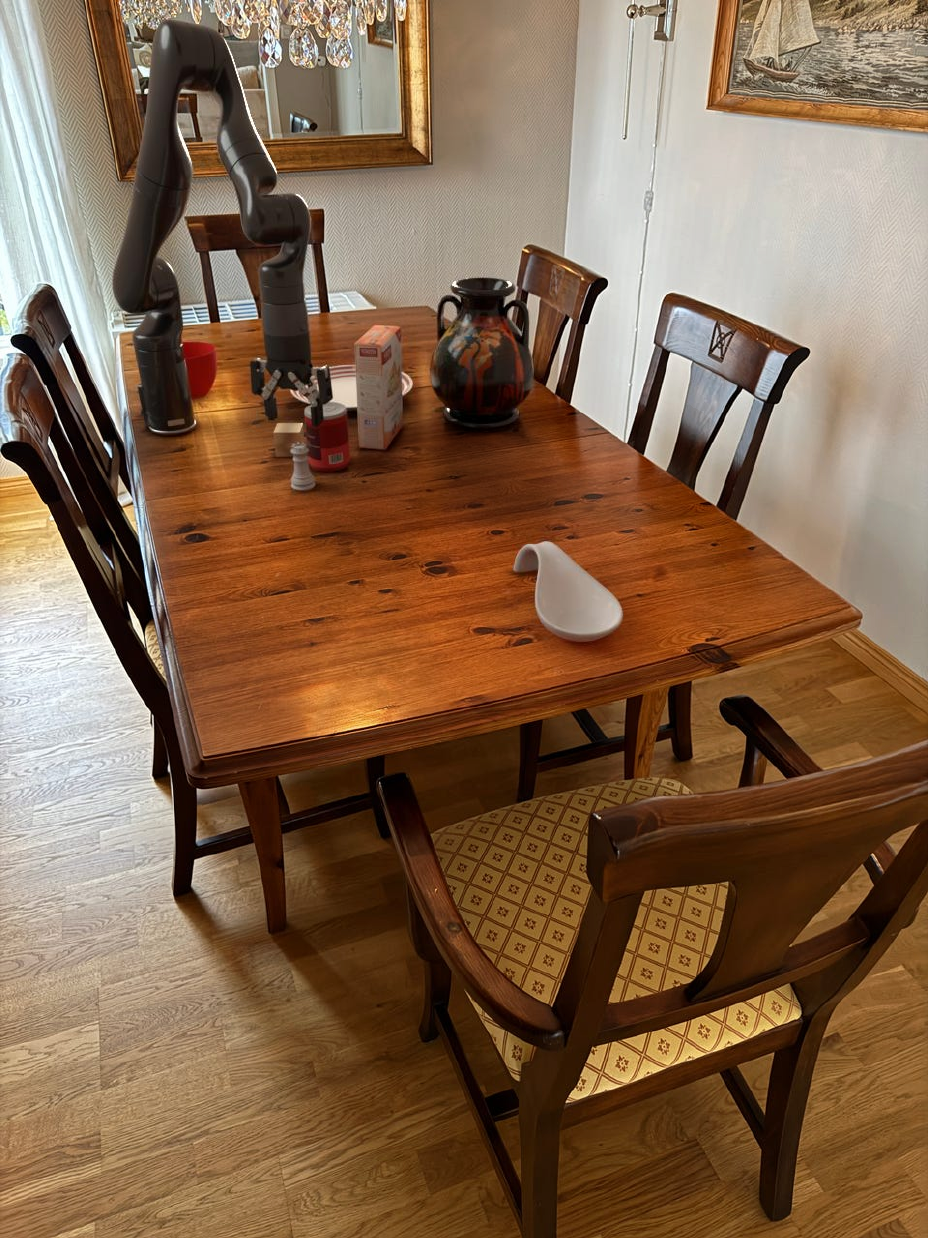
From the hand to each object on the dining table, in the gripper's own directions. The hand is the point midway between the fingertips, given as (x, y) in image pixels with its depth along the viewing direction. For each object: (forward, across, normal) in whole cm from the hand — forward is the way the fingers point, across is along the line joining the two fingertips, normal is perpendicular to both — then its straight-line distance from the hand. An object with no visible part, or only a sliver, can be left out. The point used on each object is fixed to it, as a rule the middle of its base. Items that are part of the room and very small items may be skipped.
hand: (294, 422), depth 156 cm
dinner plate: (+13, +12, -47) cm, 50 cm away
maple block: (+12, +10, -14) cm, 21 cm away
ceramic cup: (+13, +48, -39) cm, 63 cm away
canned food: (+12, 0, -11) cm, 17 cm away
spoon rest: (+12, -54, +24) cm, 61 cm away
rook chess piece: (+12, 0, 0) cm, 13 cm away
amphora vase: (+12, -20, -43) cm, 49 cm away
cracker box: (+12, -4, -27) cm, 30 cm away
